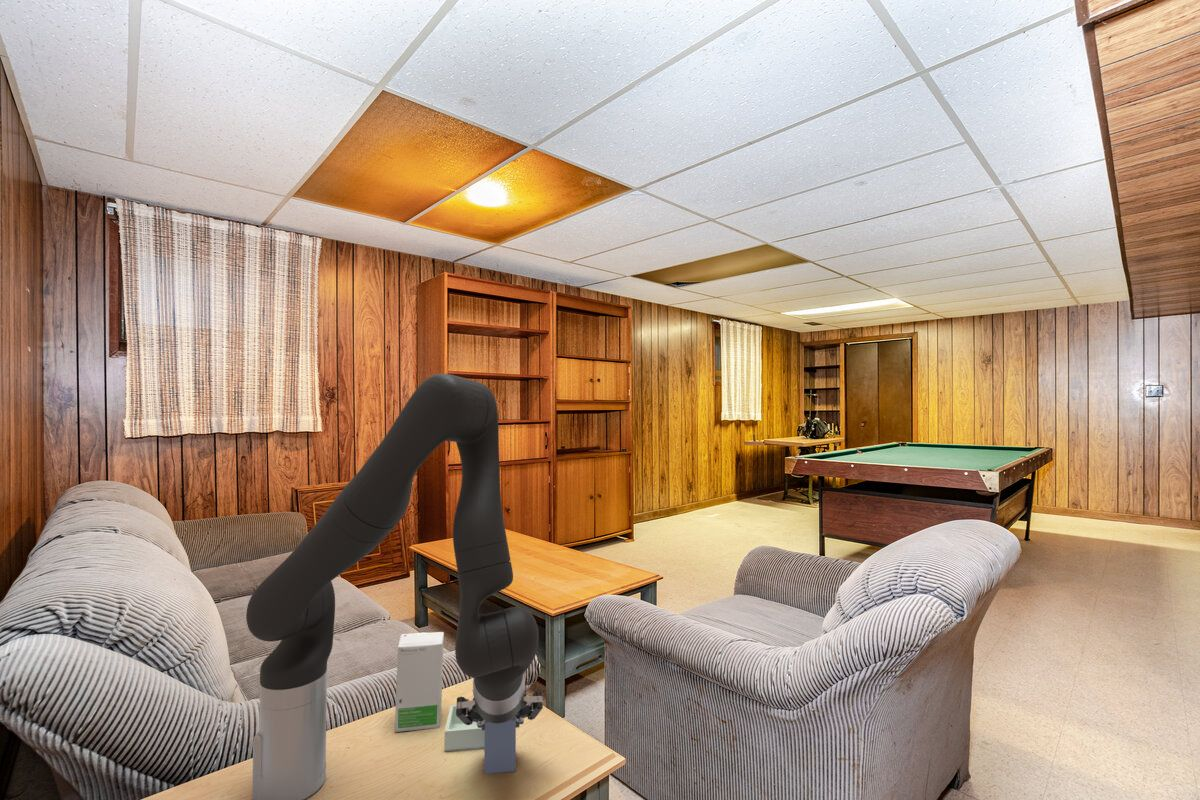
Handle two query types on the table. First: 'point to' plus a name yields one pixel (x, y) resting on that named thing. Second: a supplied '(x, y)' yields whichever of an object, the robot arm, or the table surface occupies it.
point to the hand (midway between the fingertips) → (500, 722)
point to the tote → (462, 734)
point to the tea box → (500, 747)
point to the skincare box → (419, 681)
